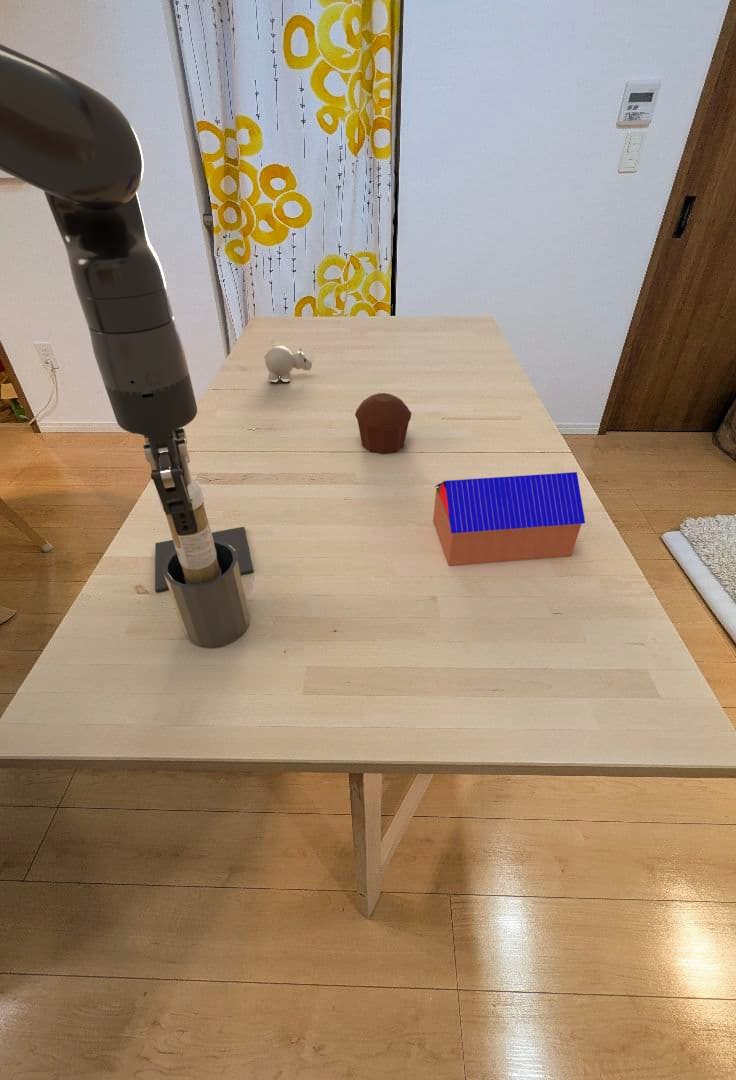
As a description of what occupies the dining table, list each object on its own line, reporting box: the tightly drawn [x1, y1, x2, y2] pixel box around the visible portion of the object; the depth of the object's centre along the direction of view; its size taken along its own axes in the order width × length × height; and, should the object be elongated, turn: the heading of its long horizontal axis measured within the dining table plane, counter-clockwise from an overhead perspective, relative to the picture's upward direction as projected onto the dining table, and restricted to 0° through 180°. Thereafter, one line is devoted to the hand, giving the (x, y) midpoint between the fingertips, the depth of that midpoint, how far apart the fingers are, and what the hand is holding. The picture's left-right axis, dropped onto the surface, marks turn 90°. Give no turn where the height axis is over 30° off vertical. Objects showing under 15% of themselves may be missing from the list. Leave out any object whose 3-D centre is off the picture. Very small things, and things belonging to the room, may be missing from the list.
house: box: [432, 471, 586, 567], centre depth 80 cm, size 12×20×12 cm, turn 96°
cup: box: [164, 540, 251, 649], centre depth 66 cm, size 9×9×11 cm
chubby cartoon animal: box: [264, 345, 314, 380], centre depth 131 cm, size 7×12×8 cm, turn 97°
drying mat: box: [154, 526, 254, 593], centre depth 80 cm, size 14×11×1 cm
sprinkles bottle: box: [157, 478, 222, 585], centre depth 60 cm, size 5×5×14 cm
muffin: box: [354, 392, 412, 455], centre depth 105 cm, size 12×11×10 cm
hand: (187, 518), depth 59 cm, fingers closed on sprinkles bottle, 4 cm apart
